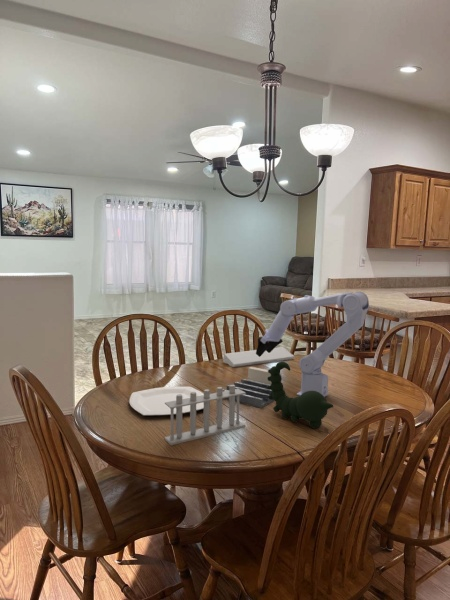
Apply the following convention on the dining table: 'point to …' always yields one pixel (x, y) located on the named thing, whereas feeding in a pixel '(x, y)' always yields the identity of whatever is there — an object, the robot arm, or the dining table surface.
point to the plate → (161, 400)
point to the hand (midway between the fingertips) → (262, 353)
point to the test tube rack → (207, 429)
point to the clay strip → (259, 375)
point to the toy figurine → (297, 400)
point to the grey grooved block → (253, 393)
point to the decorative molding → (256, 357)
